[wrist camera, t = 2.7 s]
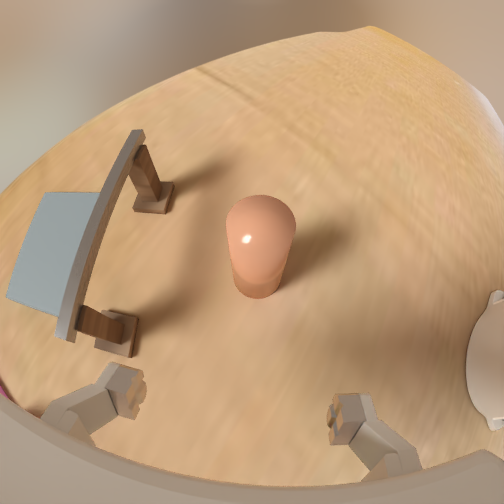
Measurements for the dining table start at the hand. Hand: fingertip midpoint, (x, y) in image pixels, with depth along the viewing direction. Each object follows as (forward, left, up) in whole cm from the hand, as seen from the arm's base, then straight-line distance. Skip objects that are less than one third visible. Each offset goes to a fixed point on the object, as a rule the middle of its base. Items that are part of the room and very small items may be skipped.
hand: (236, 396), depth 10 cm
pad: (+26, -11, -14) cm, 31 cm away
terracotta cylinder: (0, -11, -14) cm, 17 cm away
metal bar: (+13, -11, -6) cm, 18 cm away
